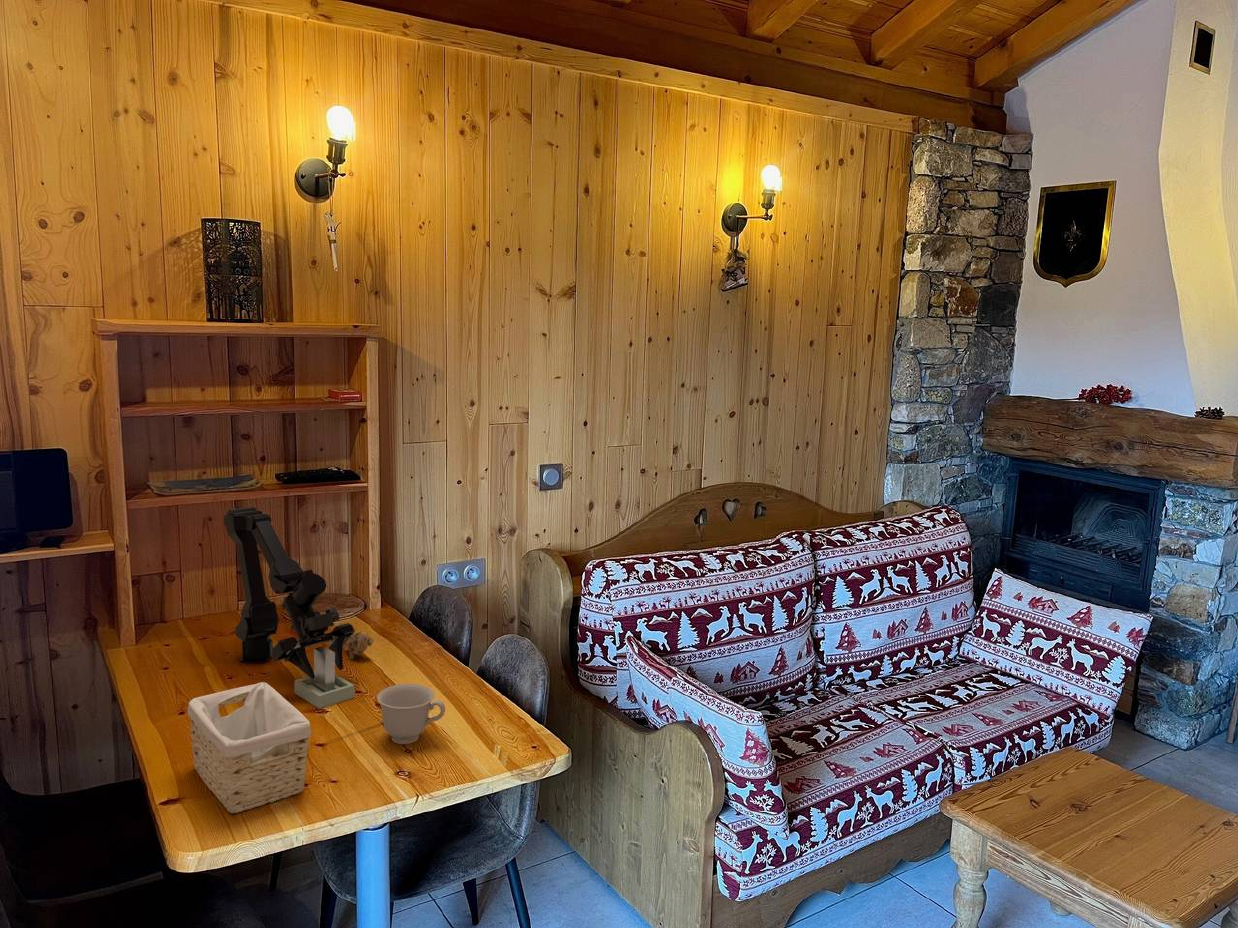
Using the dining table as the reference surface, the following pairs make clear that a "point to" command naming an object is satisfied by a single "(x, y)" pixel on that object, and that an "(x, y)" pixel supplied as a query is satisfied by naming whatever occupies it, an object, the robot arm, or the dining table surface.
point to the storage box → (323, 699)
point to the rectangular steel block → (324, 669)
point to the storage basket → (249, 746)
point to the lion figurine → (358, 644)
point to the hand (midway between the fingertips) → (327, 673)
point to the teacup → (407, 711)
